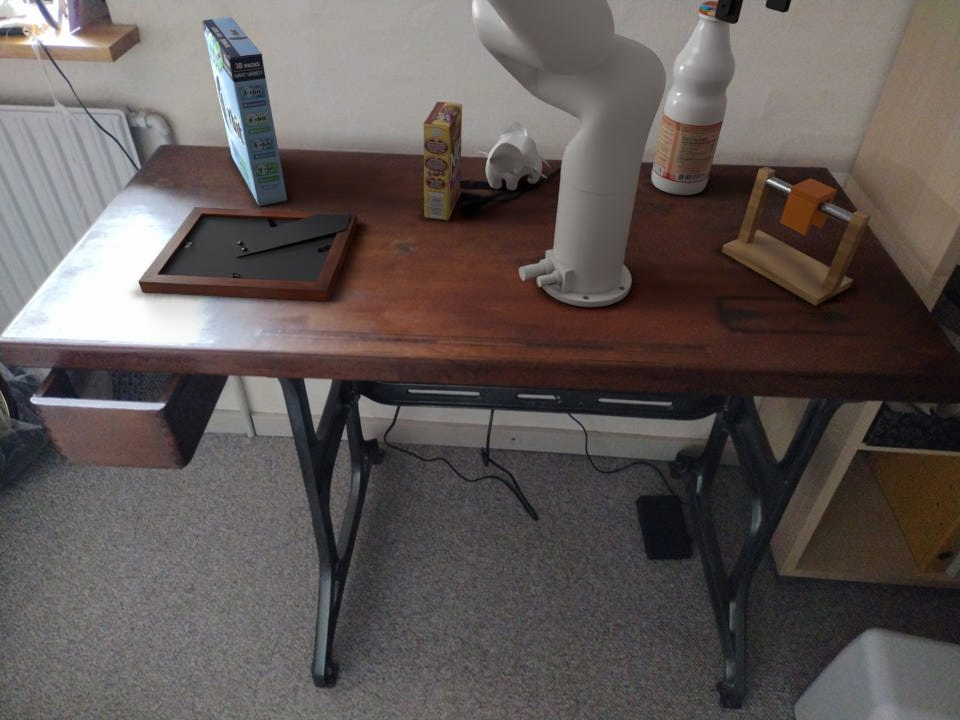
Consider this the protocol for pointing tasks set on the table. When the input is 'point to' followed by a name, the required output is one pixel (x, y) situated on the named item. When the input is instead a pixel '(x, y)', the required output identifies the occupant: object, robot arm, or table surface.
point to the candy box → (442, 160)
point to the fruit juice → (695, 107)
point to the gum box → (246, 108)
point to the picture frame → (253, 254)
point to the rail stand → (788, 262)
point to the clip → (806, 205)
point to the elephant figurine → (513, 158)
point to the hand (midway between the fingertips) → (751, 15)
